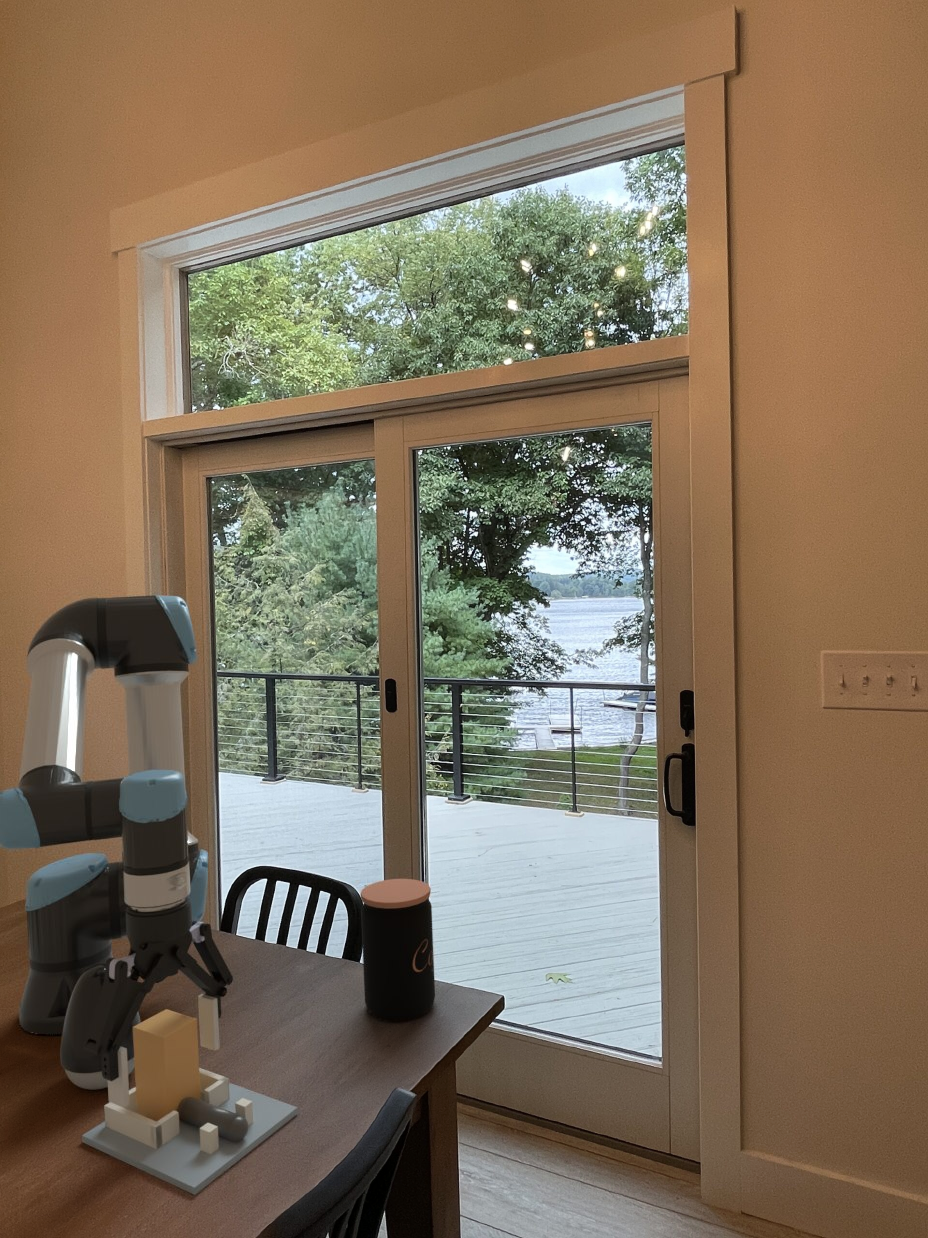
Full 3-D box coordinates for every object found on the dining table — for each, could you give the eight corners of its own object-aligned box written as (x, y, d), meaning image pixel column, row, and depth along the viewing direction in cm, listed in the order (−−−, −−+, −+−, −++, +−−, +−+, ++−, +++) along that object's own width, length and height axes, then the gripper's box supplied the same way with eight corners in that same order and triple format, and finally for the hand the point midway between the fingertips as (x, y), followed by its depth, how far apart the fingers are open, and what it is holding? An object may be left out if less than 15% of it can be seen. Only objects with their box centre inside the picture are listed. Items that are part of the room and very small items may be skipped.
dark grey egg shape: (94, 1110, 107) (88, 990, 107) (45, 1087, 113) (39, 973, 112) (162, 1070, 116) (156, 958, 115) (113, 1051, 121) (108, 944, 121)
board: (82, 1142, 101) (80, 1114, 101) (189, 1074, 114) (188, 1050, 114) (194, 1195, 91) (193, 1164, 91) (297, 1114, 105) (296, 1087, 105)
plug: (137, 1116, 104) (132, 1027, 104) (170, 1095, 108) (166, 1009, 108) (229, 1155, 96) (224, 1058, 96) (261, 1131, 100) (257, 1038, 100)
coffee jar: (425, 1027, 125) (420, 904, 124) (355, 1022, 127) (350, 901, 126) (442, 992, 135) (438, 879, 135) (377, 989, 137) (372, 877, 137)
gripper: (86, 944, 91) (96, 1140, 92) (255, 874, 113) (263, 1033, 113) (43, 932, 95) (53, 1120, 96) (215, 866, 117) (222, 1021, 117)
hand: (167, 1074), depth 105 cm, fingers open, 13 cm apart
